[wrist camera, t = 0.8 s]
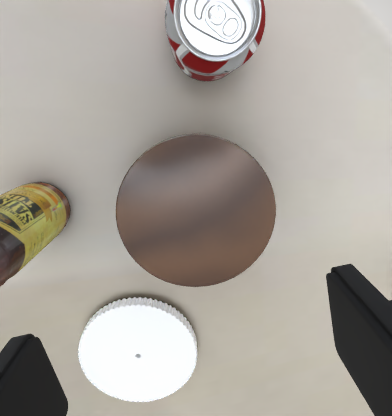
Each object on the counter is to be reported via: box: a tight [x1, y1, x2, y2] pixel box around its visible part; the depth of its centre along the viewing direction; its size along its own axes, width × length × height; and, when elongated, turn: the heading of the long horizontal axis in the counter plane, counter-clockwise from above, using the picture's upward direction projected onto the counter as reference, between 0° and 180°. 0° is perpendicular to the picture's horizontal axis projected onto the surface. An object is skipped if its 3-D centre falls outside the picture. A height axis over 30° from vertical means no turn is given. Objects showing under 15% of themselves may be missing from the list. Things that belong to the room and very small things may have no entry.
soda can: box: [165, 0, 265, 81], centre depth 27 cm, size 7×7×12 cm
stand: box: [116, 134, 276, 287], centre depth 33 cm, size 14×14×8 cm
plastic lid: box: [78, 297, 197, 402], centre depth 41 cm, size 14×14×2 cm
